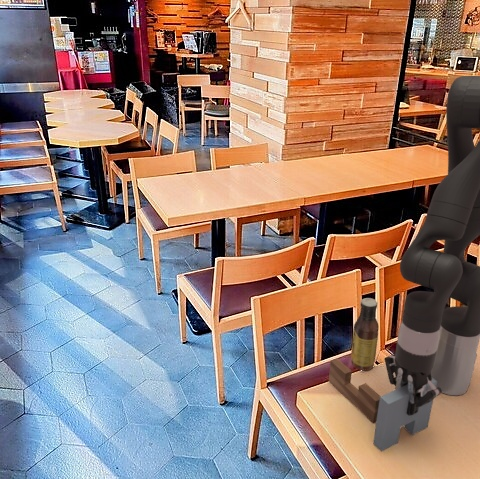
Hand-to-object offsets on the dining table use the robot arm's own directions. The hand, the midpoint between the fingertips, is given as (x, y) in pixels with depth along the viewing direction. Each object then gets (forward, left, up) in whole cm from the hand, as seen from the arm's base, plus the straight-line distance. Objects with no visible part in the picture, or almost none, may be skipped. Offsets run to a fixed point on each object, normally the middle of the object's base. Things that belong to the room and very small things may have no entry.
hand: (405, 408), depth 98 cm
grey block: (0, 0, -8) cm, 8 cm away
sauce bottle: (-9, -22, -8) cm, 25 cm away
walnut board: (+2, -13, -8) cm, 16 cm away
